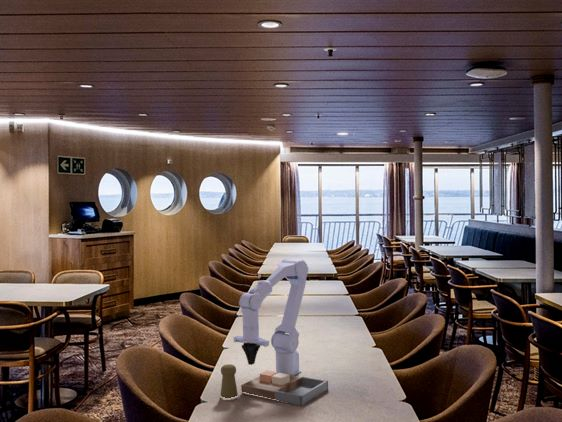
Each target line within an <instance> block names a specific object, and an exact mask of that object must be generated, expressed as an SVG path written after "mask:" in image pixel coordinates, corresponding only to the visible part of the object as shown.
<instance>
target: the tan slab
mask: <svg viewBox="0 0 562 422" xmlns="http://www.w3.org/2000/svg"><path fill="white" fill-rule="evenodd" d="M300 385H302V376H298V375H290V382H288V383H286V384H284V385H278V384H273V383H272V382H271V383H268V382H263V381H260V375H258V377H255V378H253V379H251V380H249V381H247V382H245V383H242V384H241V385H240V387H241V390H240V391H242V392H246V393H249V394H254V395H258V396H263V397H267V398H271V399H275V391H276V390H277V391H282V392H289V391H291V390H293V389H294V388H296V387H298V386H300Z"/></svg>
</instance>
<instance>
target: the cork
mask: <svg viewBox="0 0 562 422" xmlns="http://www.w3.org/2000/svg"><path fill="white" fill-rule="evenodd" d="M220 373H221V375H222V378H221V379H222V380H221V387H220V388H221V389H220V395H221V396H222V397H225V398H231V397H235V396H237V395H238V389H237V381H236V373H237V367H236V366H235V365H234V364H228V363H227V364H223V365H222V366H221V368H220ZM238 396H239V395H238Z"/></svg>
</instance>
